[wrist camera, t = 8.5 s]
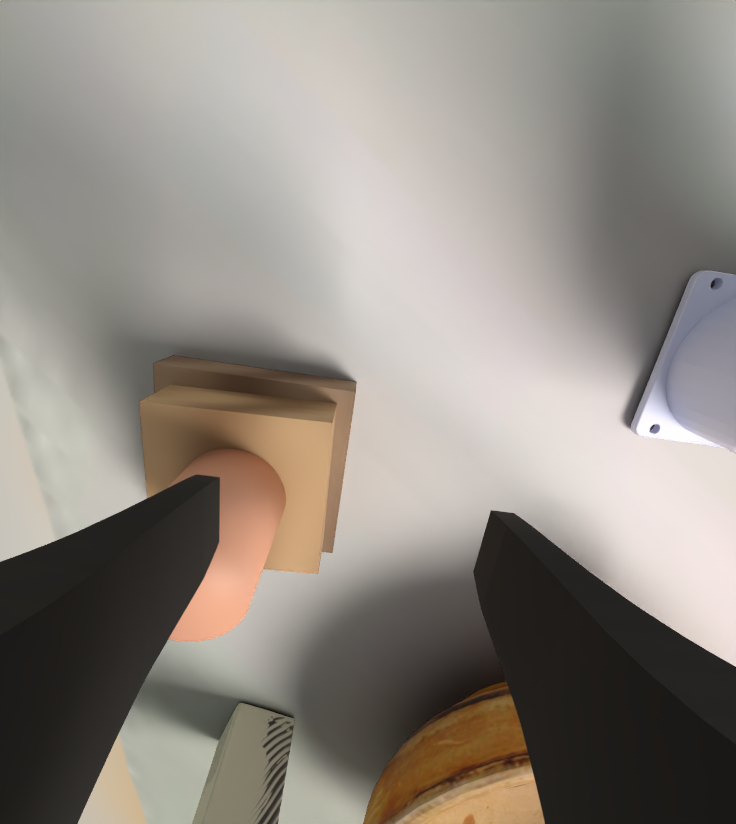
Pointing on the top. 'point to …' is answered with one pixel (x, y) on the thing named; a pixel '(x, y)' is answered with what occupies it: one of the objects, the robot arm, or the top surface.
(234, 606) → the peach capsule
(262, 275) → the top surface
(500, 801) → the wooden bowl
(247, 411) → the top block
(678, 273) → the top surface
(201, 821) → the box
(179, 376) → the bottom block
